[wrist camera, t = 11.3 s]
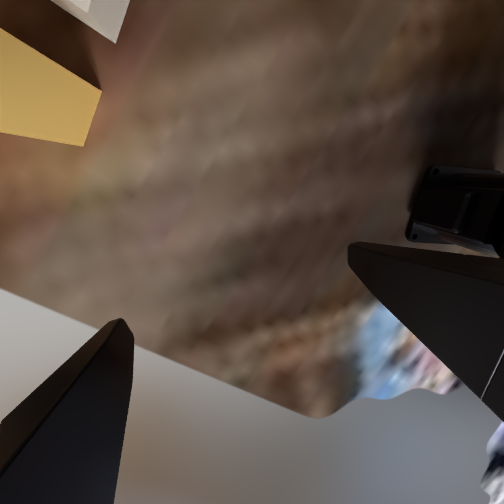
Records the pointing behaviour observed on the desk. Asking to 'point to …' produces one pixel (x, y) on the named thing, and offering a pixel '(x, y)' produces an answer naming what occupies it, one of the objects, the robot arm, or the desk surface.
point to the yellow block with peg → (42, 96)
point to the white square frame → (98, 14)
